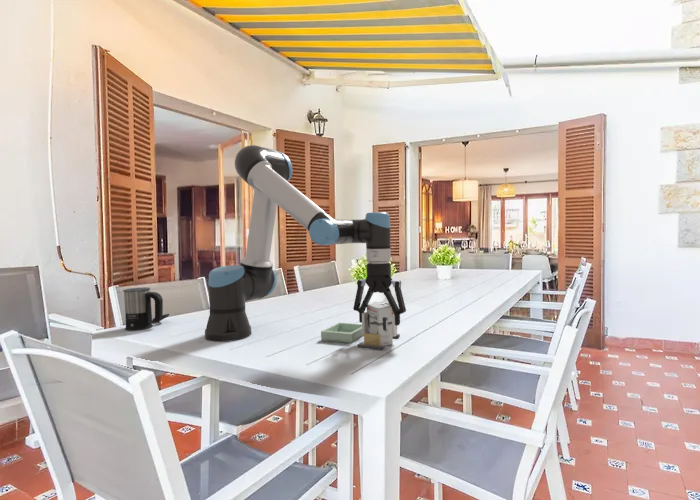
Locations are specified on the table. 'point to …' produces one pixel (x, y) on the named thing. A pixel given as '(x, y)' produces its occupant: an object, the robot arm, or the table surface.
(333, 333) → the tray
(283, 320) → the table surface
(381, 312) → the ink box
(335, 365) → the table surface
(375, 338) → the clip rails
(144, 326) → the milk frother
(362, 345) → the holder base
